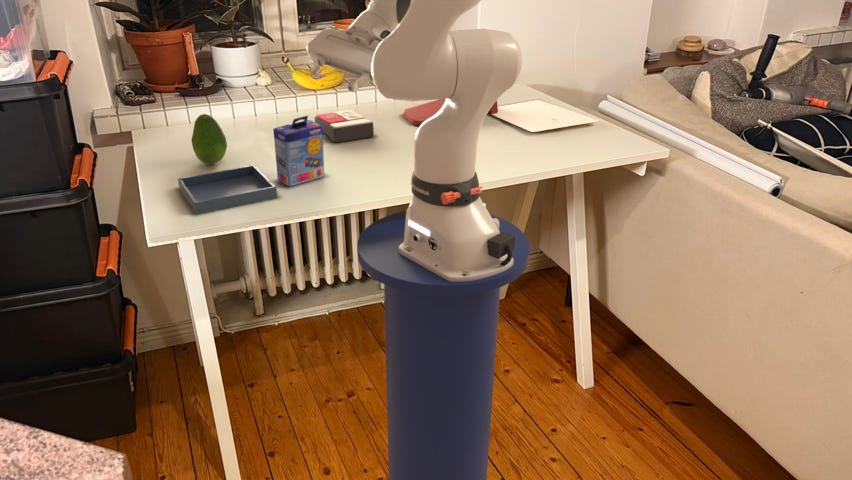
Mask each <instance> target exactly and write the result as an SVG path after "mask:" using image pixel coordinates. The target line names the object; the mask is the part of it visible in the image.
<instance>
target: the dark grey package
mask: <svg viewBox="0 0 852 480" xmlns="http://www.w3.org/2000/svg"><path fill="white" fill-rule="evenodd" d="M314 122H316V123H318V124H320V125H322V126H323V134H325V135H326V136H328V138H329V140H330V141H332V142H334V143H340V142H347V141H353V140H358V139H359V140H360V139H366V138H372V137H374V136H375V134H374V132H375V131H374V122H372V121H371V120H369V119H368V118H366V117H365V116H363V115H361V114H359V113H357V112H356V111H354V110H351V109H346V110H340V111H335V112H326V113H319V114H316V116H314Z"/></svg>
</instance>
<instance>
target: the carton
mask: <svg viewBox="0 0 852 480" xmlns="http://www.w3.org/2000/svg"><path fill="white" fill-rule="evenodd" d="M445 101H446V99H437V100H431V101H428V102H426V103H422V104H418V105H415V106H412V107H408V108H405V109H404V110H403V118H404V119H406V120H407V121H408V122H410V123H411V124H412V125H413V126H419V127H420V125H421V124H422V123H423V122H424V121H426V120H427V119H429V118H430V117H432V116H434V115H435V114H436V113H437V112H438V111H439V110H440V109H441V108H442V106H443V105H444V103H445ZM498 107H499V106H498V100H497V101H496V102H495V103H494V104H493V106H492V107H491V108H490V110H489V112H488V113H487V114H489V113H490V114H489V115H492V114H495V113H498Z"/></svg>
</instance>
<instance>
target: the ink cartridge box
mask: <svg viewBox="0 0 852 480" xmlns="http://www.w3.org/2000/svg"><path fill="white" fill-rule="evenodd" d="M308 118H309V115H304V116H300V117H297V118H294V119H293V121H292V123H291V124H289V123H288V124H284V125H281V126H277V127H275V128H273V129H272V130H273V140H274V141H273V142H274V151H275V165H276V172H277V173H276V176H277V180H278V182H281V184H283V185H285V186H287V187H289V188H290V187H294V186H297V185H300V184H303V183H307V182H310V181H314V180H317V179H321V178H324V177H325V162H324V161H325V160H324V159H325V155H324V133H323V126H322V125H320V124H318V123H316V122H315V121H314V120H310V119H308ZM301 120H302V121H301Z"/></svg>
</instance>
